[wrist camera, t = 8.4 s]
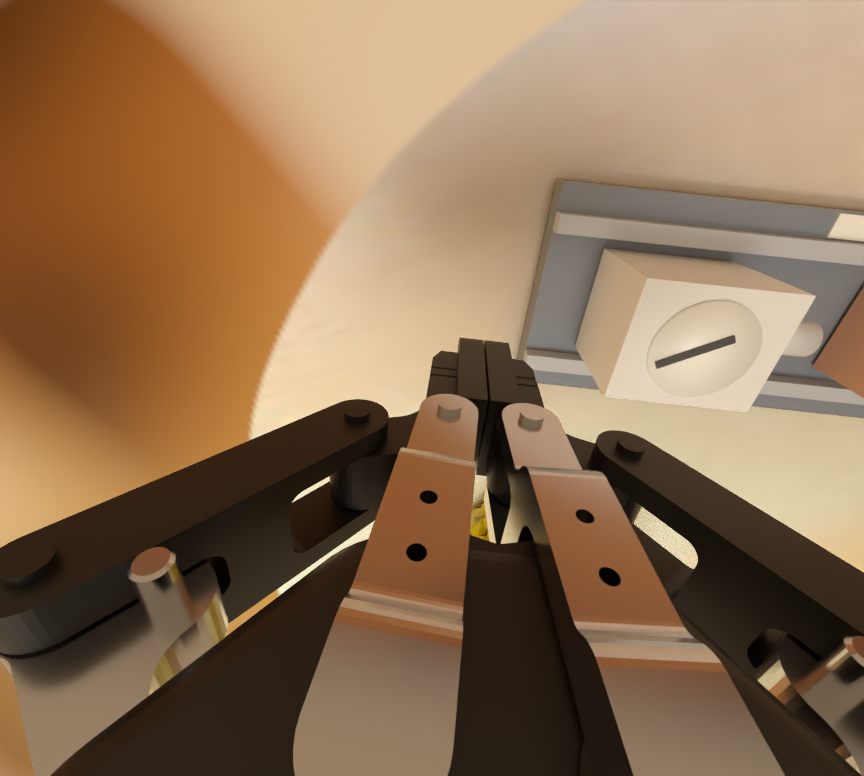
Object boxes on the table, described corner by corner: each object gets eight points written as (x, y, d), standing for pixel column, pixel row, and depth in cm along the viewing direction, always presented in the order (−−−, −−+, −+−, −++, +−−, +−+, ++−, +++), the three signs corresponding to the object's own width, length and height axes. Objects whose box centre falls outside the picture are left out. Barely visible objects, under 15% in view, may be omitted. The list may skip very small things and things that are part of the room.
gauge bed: (1030, 228, 19) (1467, 291, 11) (887, 408, 24) (1108, 543, 16) (556, 179, 19) (630, 203, 11) (514, 368, 24) (543, 482, 16)
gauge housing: (799, 268, 19) (908, 307, 14) (746, 364, 21) (825, 424, 17) (604, 247, 19) (650, 280, 14) (574, 346, 21) (606, 400, 17)
